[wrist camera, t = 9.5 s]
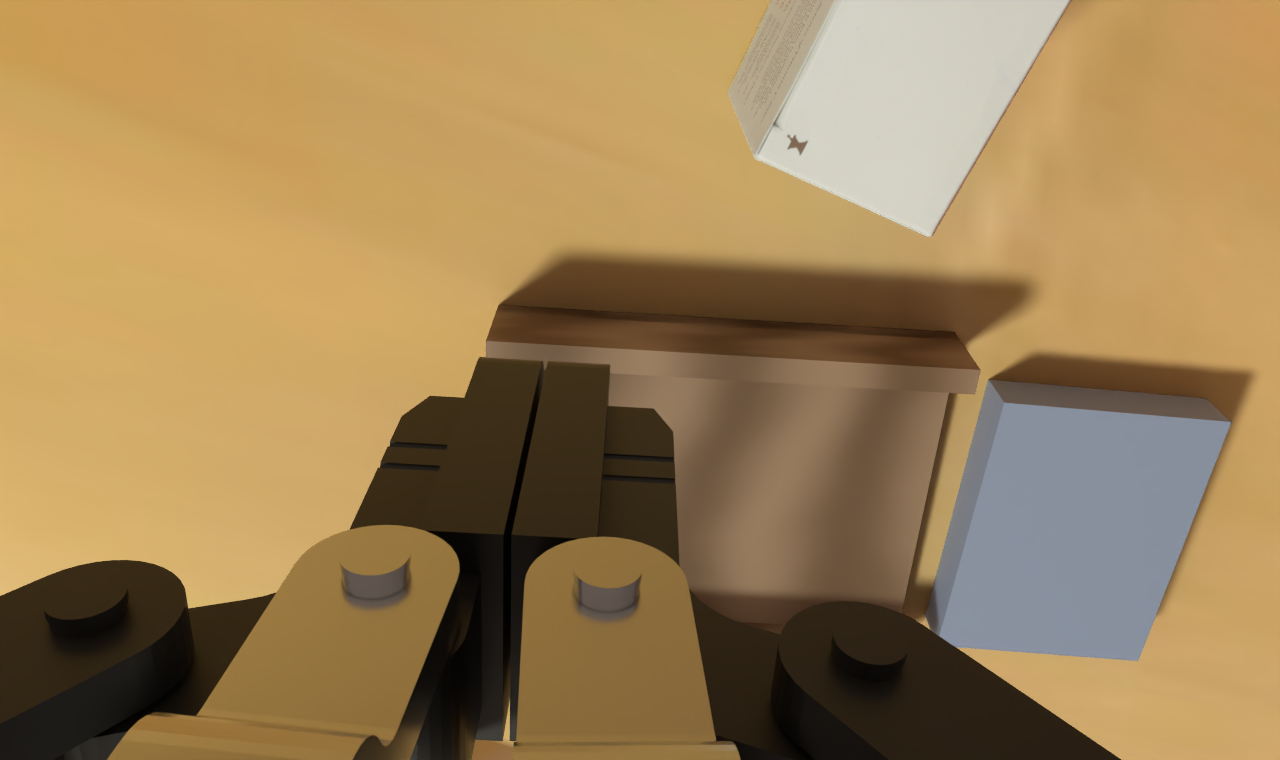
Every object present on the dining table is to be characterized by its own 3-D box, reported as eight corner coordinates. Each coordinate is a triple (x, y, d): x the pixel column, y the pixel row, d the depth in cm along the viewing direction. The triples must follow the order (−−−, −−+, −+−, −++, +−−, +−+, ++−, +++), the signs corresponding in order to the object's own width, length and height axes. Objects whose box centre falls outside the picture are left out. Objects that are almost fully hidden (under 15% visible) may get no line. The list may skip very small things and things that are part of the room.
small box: (859, 157, 38) (930, 249, 28) (722, 92, 37) (747, 164, 27) (978, -60, 35) (1103, -38, 25) (832, -137, 34) (905, -145, 24)
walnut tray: (954, 332, 41) (980, 370, 38) (890, 636, 47) (907, 690, 44) (498, 304, 40) (486, 340, 37) (498, 615, 47) (487, 668, 44)
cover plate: (1200, 393, 42) (1231, 422, 40) (1114, 624, 48) (1137, 660, 45) (985, 374, 42) (1004, 402, 40) (922, 609, 47) (936, 645, 45)
